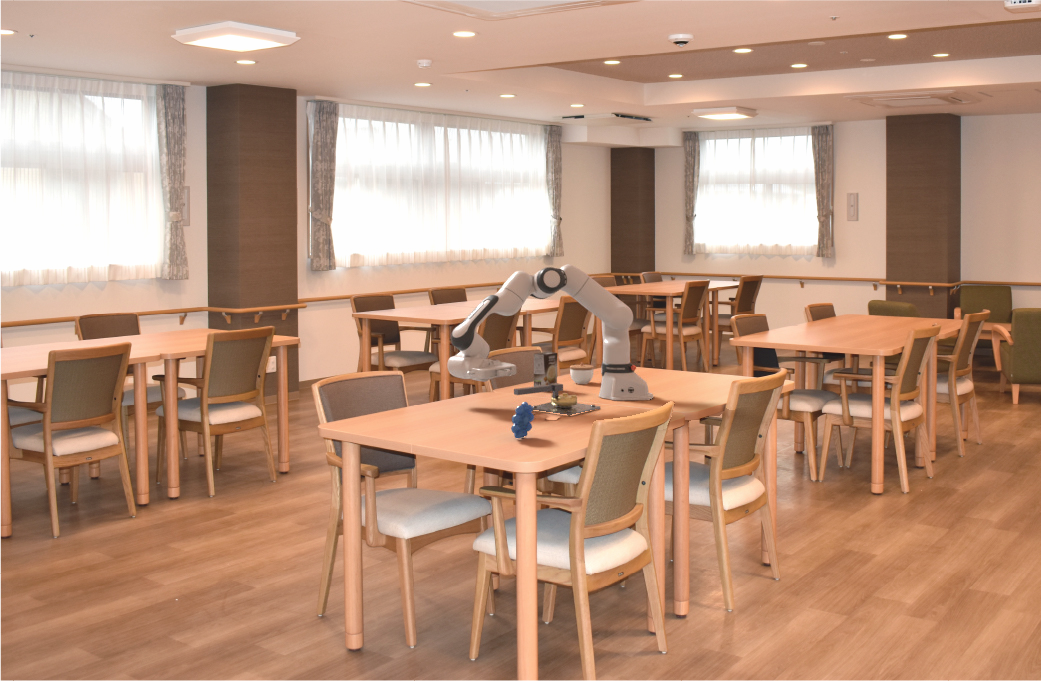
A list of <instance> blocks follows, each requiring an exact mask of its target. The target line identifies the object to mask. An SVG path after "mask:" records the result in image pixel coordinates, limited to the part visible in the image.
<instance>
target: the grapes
mask: <svg viewBox="0 0 1041 681" xmlns="http://www.w3.org/2000/svg"><path fill="white" fill-rule="evenodd" d="M532 406H533V405H532V404H529V402H527V401H524V402H522V403H521V404H520V405H518V406H516V408H515V409H514V411H515V413H514V414H515V415H513V416H512V417H511V422H512V424H513V425H511V428H510V429H511V432H512V433H513V434H514V435H513V436H514V438H515V439H516V438H520V439H522V438H521V437H524V436H526V437H527V436H528V432H530V431H531V430H532V428H533V425H532V423H531V422H533V421H534V419H535V415H533V414H534V413H533V412H534V411H533V407H532Z"/></svg>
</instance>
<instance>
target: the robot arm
mask: <svg viewBox="0 0 1041 681" xmlns="http://www.w3.org/2000/svg"><path fill="white" fill-rule="evenodd" d="M559 291H562V292H564V293H566V294H567V295H569V296H570V297H571V298H572V299H574V300H575V301H576V302H577V303H579V304H580V305H581V306H582V307H584V308H585V309H586V310H587V311H589V312H590V313H591V314H593V315H594V316H595V317H597V318H598V319H599V320H601V332H602V333H601V334H602V362H601V371H600V372H601V376H602V377H601V383H600V389H599V394H598V397H599V398H602V399H606V400H607V399H608V400H612V401H651V400H653V399H654V398H653V397H654V394H653V393H652V392H649V387H648V383H647V381H646V380H645V379H644V378H642V377H641V376H640V375H638V373H637V372H635V370H637V366H636V365H635V364H633V363H631V342H630V335H629V333H630V332H629V328H630V327H631V325H632V324H633V321H634V314H633V311H632V309H631V308H630V306H628V305H627V304H626V303H624V302H623V301H622V300H620V299H619V298H618V297H616V295H614V294H613V293H611V292H610V291H609V290H607V289H606V288H605V287H604V286H602V285H601V284H600V283H598V282H597V281H596V280H595V279H593V278H592V277H591V276H590V275H588V274H587V273H586V272H585V271H583V270H581V269H579V268H578V267H576V266H574V265H573V264H569V263H567V264H564V265H562V266H561V267H560V268H555V267H552V266H551V267H550V266H548V267H543V268H541V269H540V270H538V271H536V273H534V274H532V275H531V274H529V273H528V272H526V271H524V270H516V271H514V272H513V273H512V274H511V275H510V276H509V277H508V278H507V279H506V281H504V283H503V284H502V286H500V288H499V290H498V291H497V292H496V293H494V294H490V295H488V296H486V297H485V298H484V299H483V300H482V301H480V302H479V304H478V305H477V306H476V307H475V308H474V309H473V310H472V311H471V312H470V313H469V314H468V315H467V317H465V319H464V320H463V321H462V322H460V323H459V324H458V325H457V326H455V327H454V328H453V330H452V332H451V334H450V343H451V345H452V346H453V347H455V348H456V349H457V350H459V352H458V353H456V354H455V355H453V356H450V357H449V358H448V360H447V364H446V365H447V371H448V372H449V374H450V375H451V376H452V377H456V378H459V379H462V380H473V381H478V382H485V383H486V382H488V381H490V380H491V379H494V378H495V379H496V378H501V377H510V376H513V375H516V374H517V365H516V364H513V363H510V362H503V361H500V359H490V358H489V355H490V351H491V346H490V344H488V343H487V341H486V340H485V339H484V338H483V337H482V336H481V335H480V334H479V333H478V332H477V329H478V328H479V326H481V324H482V323H483V322H484V321H485V320H486V318H488V317H489V316H490V315H491V314H497V315H500V316H504V317H509V316H513V315H516V314H517V313H518V312H519V311H520V309H521V308H522V307H523V305H524V304H525V302H526V301H527V299H528V298H529V297H533V298H535V299H538V300H544V299H547V298H550V297H552V296H553V295H555V294H556V293H557V292H559ZM652 398H653V399H652ZM650 399H651V400H650Z"/></svg>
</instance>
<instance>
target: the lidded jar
mask: <svg viewBox="0 0 1041 681" xmlns="http://www.w3.org/2000/svg"><path fill="white" fill-rule="evenodd" d="M594 370H595V367H594V365H592V364H584V362H583V361H581V362H580V364H572V365H570V366H569V371H570V378H571V380H572V381H573V382H574V384H575V383H577V384H576V385H588V384H589V383H590V382H591V381H592V379H593V377H594Z"/></svg>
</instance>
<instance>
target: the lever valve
mask: <svg viewBox="0 0 1041 681" xmlns="http://www.w3.org/2000/svg"><path fill="white" fill-rule="evenodd" d="M563 391H564V384H563V383H558V382H557V383H552V384H548V385H543V386H535V387H534V386H527V387H521V388H520V387H519V388H514V389H513V394H514V395H515V396H523V395H530V394H537V393H538V394H539V393H546V392H547V393H549V392H552V394H551V395H550V402H551V404H552V405H557V406H572V405H576V404H577V403H578V395H577V394H571V395H570V394H568V392H563ZM559 392H563V393H562V394H560V393H559Z"/></svg>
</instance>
